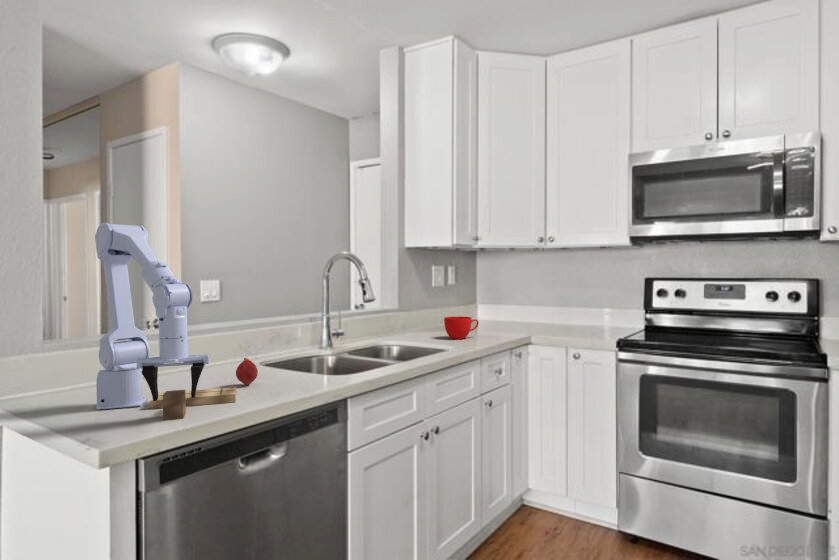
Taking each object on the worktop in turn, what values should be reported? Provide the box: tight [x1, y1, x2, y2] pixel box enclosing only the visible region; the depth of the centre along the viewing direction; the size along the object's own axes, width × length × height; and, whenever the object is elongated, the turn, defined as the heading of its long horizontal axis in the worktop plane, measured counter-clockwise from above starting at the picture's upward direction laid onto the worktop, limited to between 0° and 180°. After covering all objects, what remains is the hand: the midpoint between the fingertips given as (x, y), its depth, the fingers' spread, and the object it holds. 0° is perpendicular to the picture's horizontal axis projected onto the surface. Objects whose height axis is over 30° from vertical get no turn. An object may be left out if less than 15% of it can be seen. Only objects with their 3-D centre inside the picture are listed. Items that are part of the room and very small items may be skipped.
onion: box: [235, 357, 258, 387], centre depth 146 cm, size 6×6×8 cm
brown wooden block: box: [162, 389, 187, 421], centre depth 117 cm, size 4×9×6 cm, turn 18°
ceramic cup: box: [443, 316, 479, 340], centre depth 244 cm, size 13×17×10 cm
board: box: [149, 386, 238, 410], centre depth 128 cm, size 19×8×2 cm, turn 108°
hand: (174, 398), depth 114 cm, fingers open, 7 cm apart
